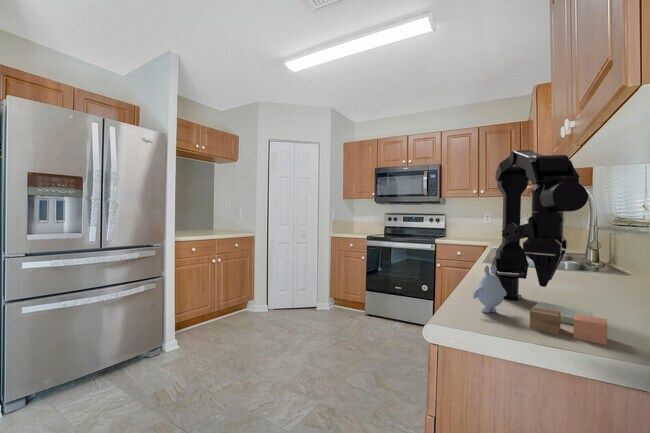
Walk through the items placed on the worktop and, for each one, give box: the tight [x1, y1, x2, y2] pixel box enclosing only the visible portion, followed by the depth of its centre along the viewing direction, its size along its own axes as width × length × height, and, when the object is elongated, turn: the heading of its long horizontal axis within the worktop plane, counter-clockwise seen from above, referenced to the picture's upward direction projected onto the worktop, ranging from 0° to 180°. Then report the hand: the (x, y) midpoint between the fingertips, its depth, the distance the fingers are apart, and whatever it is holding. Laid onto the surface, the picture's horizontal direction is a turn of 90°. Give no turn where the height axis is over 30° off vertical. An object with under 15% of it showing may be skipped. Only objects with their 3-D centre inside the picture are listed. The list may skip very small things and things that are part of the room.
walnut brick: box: [529, 305, 561, 335], centre depth 68 cm, size 5×5×4 cm
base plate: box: [534, 301, 592, 326], centre depth 76 cm, size 11×11×2 cm
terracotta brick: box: [573, 314, 608, 346], centre depth 63 cm, size 5×5×4 cm
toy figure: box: [472, 265, 507, 314], centre depth 79 cm, size 11×6×12 cm, turn 108°
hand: (545, 283), depth 68 cm, fingers open, 9 cm apart
